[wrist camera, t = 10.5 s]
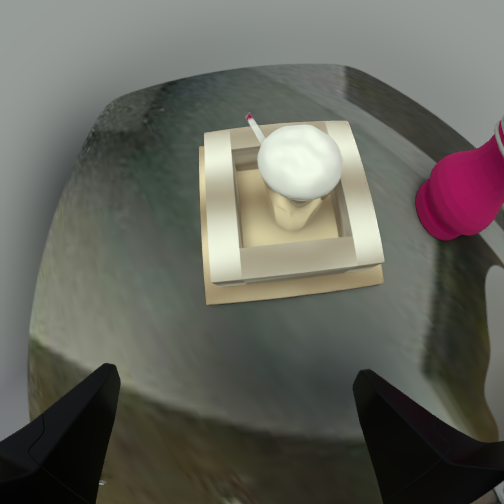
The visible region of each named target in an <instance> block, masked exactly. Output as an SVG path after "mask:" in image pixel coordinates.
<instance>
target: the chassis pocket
mask: <svg viewBox="0 0 504 504" xmlns="http://www.w3.org/2000/svg"><path fill="white" fill-rule="evenodd" d="M292 125H312V126H314V127H316V128H318V129H319V130H321V131H322V132H324V133H326V134H327V135H329V136H330V137H331V138H332V139H333V140H334V141H335V142H336V144H337V145H338V147H339V149H340V152H341V155H342V160H343V171H342V175H341V178H340V180H339V182H338V183H337V185H336V186H335V188H334V189H333V190H332V191H331V193H330V194H329V195H328V197H327V198H326V199H325V200H324V202H323V203H322V205H321V206H320V208H319V209H318V211H317V212H316V214H315V215H314V217H313V218H312V220H311V221H310V222H309V223H308V224H307V225H306V226H305V227H303V228H302V229H301V230H293V231H287V230H285V229H283V228H282V227H280V226H278V225H276V222H275V220H274V218H273V216H272V214H271V211H270V207H269V202H268V198H267V194H266V190H265V187H264V184H263V180H262V177H261V174H260V171H259V168H258V161H257V158H258V152H259V149H260V147H261V144H260V142H259V140H258V138H257V137H256V135H255V134H254V132H253V130H252V129H251V127H242V128H235V129H228V130H221V131H215V132H209V133H204V146H202V147H199V173H200V208H201V231H202V250H203V266H204V281H205V294H206V305H217V304H229V303H240V302H250V301H260V300H270V299H279V298H287V297H296V296H304V295H312V294H319V293H327V292H334V291H341V290H348V289H355V288H361V287H368V286H374V285H379V284H383V283H384V281H383V274H382V267H381V264H382V263H384V262H385V261H384V255H383V250H382V244H381V239H380V234H379V229H378V224H377V220H376V215H375V211H374V207H373V203H372V198H371V195H370V191H369V187H368V183H367V179H366V176H365V172H364V169H363V165H362V162H361V159H360V155H359V152H358V149H357V146H356V143H355V140H354V137H353V134H352V131H351V128H350V125H349V123H348V121H315V122H295V123H281V124H270V125H260V126H259V128H260V130H261V131H262V133H263V135H264V137H265V138H267V137H268V136H269V135H270V134H271V133H272V132H274V131H275V130H277V129H279V128H281V127H284V126H292Z"/></svg>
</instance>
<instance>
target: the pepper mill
mask: <svg viewBox="0 0 504 504" xmlns="http://www.w3.org/2000/svg"><path fill="white" fill-rule="evenodd" d="M494 131H495V134H494V135H493V136H492V138H491V139H490V140H489V141H488V142H487V143H485V144H484V145H482V146H481V147H479V148H477V149H475V150H471V151H462V152H456V153H453V154H450V155H448V156H446V157H444V158H443V159H442V160H440V161H439V162H438V163H437V164H436V165H435V167H434V168H433V170H432V172H431V176H430V178H429V179H428V180H427V181H426V182H425V183H424V184H423V185H422V186H421V187H420V188H419V190H418V192H417V196H416V209H417V214H418V216H419V219H420V221H421V223H422V224H423V226H424V228H425V229H426V230H427V231H428V232H429V233H430V234H431V235H432V236H434V237H436V238H437V239H440V240H444V241H448V240H452V239H454V238H456V237H458V236H460V235H474V234H477V233H479V232H481V231H482V230H484V229H485V228H486V227H488V226H489V224H490V223H491V222H492V221H493V220H494V219H495V217H496V215H497V214H498V212H499V210H500V208H501V206H502V204H503V203H504V116H503V117H502V119H501V121H498V122H497V123H496V125H495V129H494Z"/></svg>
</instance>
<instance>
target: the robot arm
mask: <svg viewBox="0 0 504 504" xmlns="http://www.w3.org/2000/svg"><path fill="white" fill-rule="evenodd" d="M120 385H121V381H120V377H119V374H118V371H117V368H116V366H115V365H114V364H109V363H104V364H103V365H101V366H100V367H99V368H98V369H96V370H95V371H94V372H93V373H91V374H90V375H89V376H88V377H86V378H85V379H84V380H83V381H81V382H80V383H79V384H78V385H76V386H75V387H74V388H73V389H71V390H70V391H69V392H68V393H66V394H65V395H64V396H63V397H61V398H60V399H59V400H58V401H56V402H55V403H54V404H53V405H51V406H50V407H49V408H48V409H47V410H45V411H44V412H43V413H41V414H40V415H39V416H38V417H37V418H35V419H34V420H33V421H31V422H30V423H29V424H27V425H26V426H25V427H23V428H21V429H20V430H18V431H17V432H15V433H14V434H12V435H10V436H9V437H7V438H6V439H4V440H2V441H1V442H0V504H96V498H97V493H98V487H99V482H100V478H101V473H102V468H103V464H104V459H105V455H106V451H107V447H108V443H109V439H110V435H111V432H112V428H113V424H114V420H115V415H116V409H117V402H118V396H119V391H120ZM353 393H354V398H355V402H356V407H357V412H358V417H359V421H360V425H361V428H362V431H363V434H364V438H365V441H366V444H367V447H368V451H369V454H370V457H371V461H372V464H373V467H374V471H375V474H376V478H377V481H378V485H379V489H380V492H381V496H382V500H383V504H504V441H500V442H489V443H486V442H480V441H477V440H475V439H473V438H471V437H469V436H467V435H465V434H464V433H462V432H460V431H458V430H456V429H455V428H453V427H451V426H449V425H448V424H446V423H445V422H443V421H442V420H440V419H439V418H437V417H436V416H434V415H432V414H431V413H430V412H429V411H427V410H426V409H424V408H423V407H422V406H420V405H419V404H417V403H416V402H415V401H413V400H412V399H410V398H409V397H408V396H406V395H405V394H403V393H402V392H401V391H399V390H398V389H397V388H395V387H394V386H392V385H391V384H390V383H388V382H387V381H386V380H384V379H383V378H382V377H380V376H379V375H377V374H376V373H375V372H373V371H372V370H370V369H365V370H360V371H359V373H358V375H357V377H356V379H355V381H354V383H353Z"/></svg>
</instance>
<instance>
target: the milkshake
mask: <svg viewBox="0 0 504 504" xmlns="http://www.w3.org/2000/svg"><path fill="white" fill-rule="evenodd" d="M245 119H246V120H247V122H248V124H249V125H250V127H251V129H252V130H253V132H254V134H255V135H256V137H257V138H258V140H259V142H260V144H261V147H260V149H259V152H258V158H257V161H258V168H259V171H260V174H261V177H262V180H263V184H264V187H265V190H266V194H267V198H268V202H269V207H270V211H271V214H272V216H273V218H274V220H275V222H276V225H278V226H280V227H282V228H283V229H285V230H287V231H293V230H301V229H302V228H303V227H305V226H306V225H307V224H308V223H309V222H310V221H311V220H312V218H313V217H314V215H315V214H316V212H317V211H318V209H319V208H320V206H321V205H322V203H323V202H324V200H325V199H326V198H327V197H328V195H329V194H330V193H331V191H332V190H333V189H334V188H335V186H336V185H337V183H338V182H339V180H340V178H341V175H342V171H343V160H342V155H341V152H340V149H339V147H338V145H337V144H336V142H335V141H334V140H333V139H332V138H331V137H330V136H329V135H327V134H326V133H324V132H322V131H321V130H319V129H318V128H316V127H314V126H312V125H292V126H284V127H281V128H279V129H277V130H275V131H274V132H272V133H271V134H270V135H269V136H268V137H267V138H265V137H264V135H263V133H262V131H261V130H260V128H259V126H258V124H257V123H256V121H255V119H254V118H253V116H252V114H251V113H250V112H249V113H248V115H247V116H246V117H245Z"/></svg>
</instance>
